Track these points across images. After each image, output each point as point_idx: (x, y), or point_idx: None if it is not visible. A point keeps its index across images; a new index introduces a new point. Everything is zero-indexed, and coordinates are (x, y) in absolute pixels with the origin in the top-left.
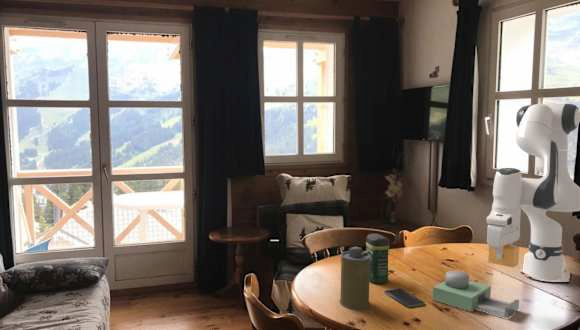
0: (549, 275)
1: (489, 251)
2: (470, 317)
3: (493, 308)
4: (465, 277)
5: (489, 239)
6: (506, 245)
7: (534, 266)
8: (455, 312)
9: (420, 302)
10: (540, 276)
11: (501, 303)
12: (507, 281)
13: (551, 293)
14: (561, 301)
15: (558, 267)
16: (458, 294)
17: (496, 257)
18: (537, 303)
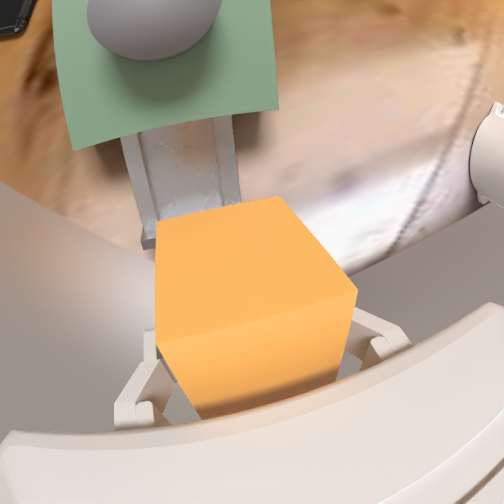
0: (484, 180)
1: (157, 287)
2: (60, 164)
3: (140, 191)
4: (140, 51)
5: (4, 490)
6: (315, 382)
7: (501, 153)
8: (49, 114)
9: (15, 20)
10: (480, 161)
11: (219, 172)
12: (441, 91)
13: (422, 202)
14: (387, 238)
15: (502, 202)
16: (61, 95)
17: (144, 331)
18: (340, 212)
